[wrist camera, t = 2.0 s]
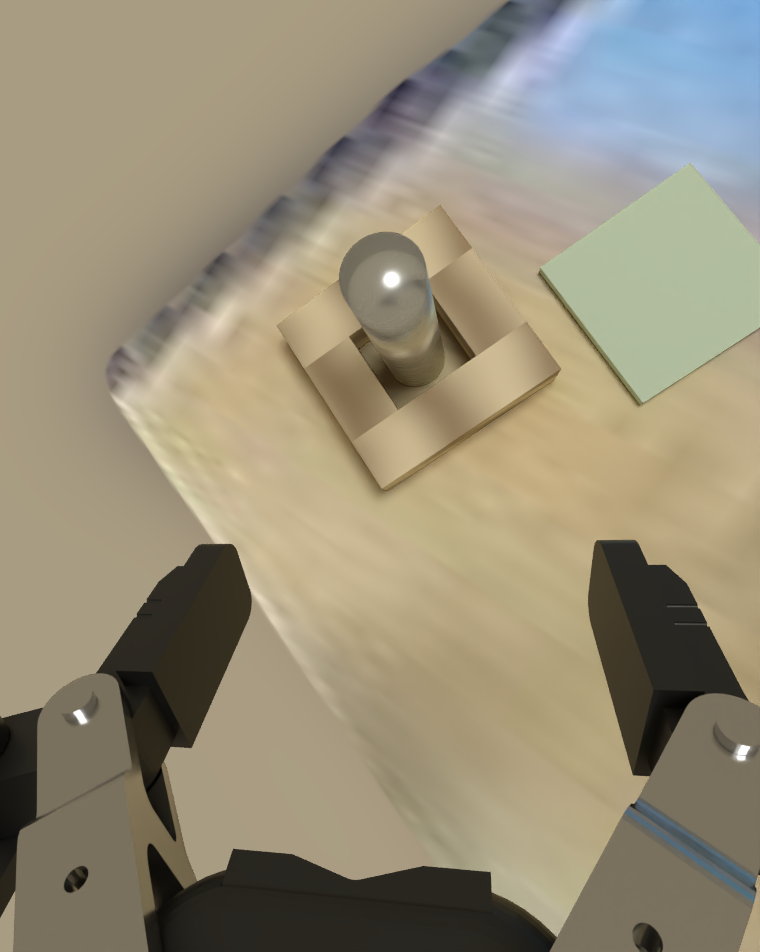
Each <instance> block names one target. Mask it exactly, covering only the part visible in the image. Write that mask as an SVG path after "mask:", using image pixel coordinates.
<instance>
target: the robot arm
mask: <svg viewBox="0 0 760 952" xmlns="http://www.w3.org/2000/svg"><path fill="white" fill-rule="evenodd" d="M251 603H252V599H251V592H250V589H249V586H248V583H247V580H246V577H245V574H244V571H243V568H242V565H241V562H240V559H239V555H238V552H237V550H236V548H235V547H234V545H232V544H201V545H199V546H197V547H196V548H195V550H194V551H193V553H192V554H191V556H190V558H189V559H188V561H187V562H186V563H185V565H184V566H177V567H176V568H175V569H174V570H172V571H171V572H170V573H169V574H168V575H167V576H165V577H164V578H163V579H162V580H160V581H159V582H158V584H157V585H156V587H155V588H154V590H153V591H152V592H151V594H150V595H149V597H148V598H147V603H144V604H143V606H142V607H141V608H140V610H139V611H138V613H137V617H136V618H134V619H133V620H132V622H131V623H130V625H129V626H128V628H127V629H126V631H125V632H124V633H123V635H122V636H121V638H120V639H119V641H118V642H117V644H116V645H115V646H114V648H113V650H112V651H111V652H110V654H109V655H108V657H107V658H106V660H105V661H104V662H103V664H102V665H101V667H100V668H99V670H98V671H97V673H96V674H90V675H87V676H83V677H81V678H78V679H76V680H74V681H72V682H70V683H69V684H68V685H66V686H64V687H63V688H62V689H60V690H59V691H58V692H57V693H56V694H54V695H53V696H52V697H51V699H50V700H49V701H48V702H47V703H46V705H45V706H44V708H40V709H36V710H32V711H29V712H24V713H20V714H17V715H12V716H9V717H5V718H1V717H0V917H1V915H2V914H3V912H4V910H5V908H6V906H7V904H8V902H9V901H10V899H11V897H12V895H13V893H14V892H15V918H14V919H15V920H14V947H13V952H738V951H739V948H740V945H741V942H742V939H743V936H744V932H745V929H746V926H747V923H748V920H749V917H750V914H751V911H752V907H753V904H754V900H755V896H756V887H755V883H756V879H757V876H758V875H760V707H758V706H757V705H755V704H753V703H751V702H749V701H748V699H747V697H746V696H745V694H744V692H743V690H742V689H741V687H740V685H739V683H738V681H737V679H736V677H735V675H734V673H733V671H732V669H731V668H730V666H729V664H728V662H727V660H726V658H725V656H724V654H723V652H722V650H721V648H720V646H719V645H718V643H717V641H716V639H715V637H714V635H713V633H712V631H711V629H710V627H707V622H706V620H705V618H704V616H703V614H702V612H701V610H700V609H698V607H697V602H696V601H695V599H694V597H693V595H692V593H691V591H690V589H689V587H688V585H687V583H686V582H685V581H683V580H682V579H681V578H680V577H679V576H678V575H677V574H675V573H674V572H673V571H672V570H671V569H670V568H669V567H667V566H666V565H648V564H647V562H646V559H645V557H644V555H643V553H642V551H641V548H640V546H639V544H638V543H637V541H636V540H597V541H596V542H595V545H594V552H593V560H592V568H591V577H590V585H589V593H588V607H589V616H590V622H591V626H592V630H593V633H594V637H595V640H596V644H597V648H598V651H599V655H600V658H601V662H602V666H603V669H604V673H605V676H606V680H607V684H608V687H609V691H610V694H611V698H612V701H613V705H614V709H615V712H616V716H617V719H618V723H619V727H620V730H621V734H622V737H623V741H624V745H625V748H626V752H627V755H628V759H629V763H630V766H631V770H632V773H633V775H637V776H650V777H649V779H648V781H647V783H646V785H645V787H644V789H643V790H642V792H641V794H640V796H639V798H638V800H637V801H636V802H635V804H631V805H630V806H629V807H628V808H627V810H626V811H625V813H624V814H623V816H622V818H621V820H620V821H619V823H618V825H617V827H616V829H615V831H614V833H613V834H612V836H611V838H610V840H609V842H608V844H607V846H606V847H605V849H604V851H603V853H602V855H601V857H600V859H599V860H598V862H597V864H596V866H595V868H594V870H593V872H592V874H591V875H590V877H589V879H588V881H587V883H586V885H585V887H584V888H583V890H582V892H581V894H580V896H579V898H578V900H577V901H576V903H575V905H574V907H573V909H572V911H571V913H570V915H569V916H568V918H567V920H566V922H565V924H564V926H563V928H562V929H561V931H560V933H559V935H558V937H556V936H555V935H554V934H553V933H552V932H551V931H550V930H549V929H548V928H547V927H546V926H545V925H543V924H542V923H541V922H540V921H539V920H538V919H536V918H535V917H534V916H532V915H531V914H530V913H528V912H527V911H526V910H524V909H523V908H521V907H520V906H518V905H516V904H514V903H513V902H511V901H509V900H508V899H505V898H503V897H501V896H498V895H496V894H494V893H492V891H491V872H483V871H471V870H460V869H449V868H438V867H427V866H422V867H417V868H413V869H408V870H403V871H398V872H394V873H389V874H384V875H380V876H375V877H371V878H366V879H361V880H351V879H347V878H345V877H343V876H341V875H338V874H336V873H334V872H332V871H329V870H327V869H325V868H322V867H320V866H318V865H316V864H313V863H311V862H309V861H307V860H304V859H302V858H300V857H297V856H295V855H292V854H284V853H272V852H261V851H250V850H238V849H233V851H232V854H231V857H230V860H229V863H228V866H227V869H226V870H225V871H221V872H218V873H216V874H213V875H210V876H207V877H205V878H203V879H201V880H199V881H197V880H196V877H195V874H194V872H193V869H192V867H191V865H190V863H189V860H188V857H187V854H186V850H185V847H184V842H183V838H182V833H181V829H180V824H179V820H178V816H177V811H176V807H175V802H174V797H173V793H172V789H171V784H170V780H169V776H168V771H167V767H166V765H165V763H164V759H165V757H166V755H167V753H168V751H169V749H170V747H184V748H192V746H193V744H194V741H195V739H196V737H197V734H198V732H199V730H200V728H201V725H202V723H203V721H204V718H205V716H206V714H207V712H208V710H209V707H210V705H211V703H212V700H213V698H214V696H215V694H216V692H217V689H218V687H219V685H220V682H221V680H222V678H223V676H224V673H225V671H226V669H227V667H228V664H229V662H230V660H231V658H232V655H233V653H234V651H235V648H236V646H237V644H238V642H239V639H240V637H241V635H242V632H243V630H244V628H245V626H246V624H247V621H248V619H249V616H250V612H251Z"/></svg>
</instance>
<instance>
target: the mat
mask: <svg viewBox="0 0 760 952" xmlns="http://www.w3.org/2000/svg"><path fill="white" fill-rule="evenodd" d="M539 272H540V274H541V275H542V276H543V278H544V279H545V280H546V282H547V283H548V284H549V286H550V287H551V288H552V290H553V291H554V292H555V294H556V295H557V296H558V297H559V299H560V300H561V301H562V303H563V304H564V305H565V307H566V308H567V309H568V311H569V312H570V313H571V315H572V316H573V317H574V319H575V320H576V321H577V323H578V324H579V325H580V327H581V328H582V329H583V331H584V332H585V333H586V335H587V336H588V337H589V338H590V340H591V341H592V342H593V344H594V345H595V346H596V348H597V349H598V350H599V352H600V353H601V354H602V356H603V357H604V358H605V360H606V361H607V362H608V364H609V365H610V366H611V368H612V369H613V370H614V372H615V373H616V374H617V376H618V377H619V378H620V379H621V381H622V382H623V383H624V385H625V386H626V387H627V389H628V390H629V391H630V393H631V394H632V395H633V397H634V398H635V399H636V401H637V402H638V403H639V405H641V404H642V403H644V402H646V401H647V400H649V399H650V398H652V397H653V396H655V395H656V394H658V393H659V392H661V391H663V390H664V389H666V388H667V387H669V386H670V385H672V384H673V383H675V382H676V381H678V380H680V379H681V378H683V377H684V376H686V375H687V374H689V373H690V372H692V371H693V370H695V369H697V368H698V367H700V366H701V365H703V364H704V363H706V362H707V361H709V360H710V359H712V358H714V357H715V356H717V355H718V354H720V353H721V352H723V351H724V350H726V349H727V348H729V347H731V346H732V345H734V344H735V343H737V342H738V341H740V340H741V339H743V338H744V337H746V336H748V335H749V334H751V333H752V332H754V331H755V330H757V329H758V328H760V245H759V243H758V242H757V241H756V240H755V239H754V237H753V236H752V235H751V234H750V233H749V232H748V230H747V229H746V228H745V227H744V226H743V224H742V223H741V222H740V221H739V220H738V219H737V217H736V216H735V215H734V214H733V213H732V211H731V210H730V209H729V208H728V207H727V206H726V204H725V203H724V202H723V201H722V200H721V198H720V197H719V196H718V195H717V194H716V193H715V191H714V190H713V189H712V188H711V187H710V185H709V184H708V183H707V182H706V181H705V180H704V178H703V177H702V176H701V175H700V174H699V172H698V171H697V170H696V169H695V168H694V167H693V165H692V164H691V163H689V164H688V165H686V166H685V167H683V168H682V169H680V170H679V171H678V172H676V173H675V174H673V175H672V176H670V177H669V178H668V179H666V180H665V181H663V182H662V183H660V184H659V185H658V186H656V187H655V188H653V189H652V190H650V191H649V192H648V193H646V194H645V195H643V196H642V197H640V198H639V199H638V200H636V201H635V202H633V203H632V204H630V205H629V206H628V207H626V208H625V209H623V210H622V211H620V212H619V213H618V214H616V215H615V216H613V217H612V218H610V219H609V220H608V221H606V222H605V223H603V224H602V225H600V226H599V227H598V228H596V229H595V230H593V231H592V232H590V233H589V234H588V235H586V236H585V237H583V238H582V239H580V240H579V241H578V242H576V243H575V244H573V245H572V246H570V247H569V248H568V249H566V250H565V251H563V252H562V253H560V254H559V255H558V256H556V257H555V258H553V259H552V260H550V261H549V262H548V263H546V264H545V265H543V266H542V267H540V271H539Z"/></svg>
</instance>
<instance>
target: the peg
mask: <svg viewBox="0 0 760 952" xmlns="http://www.w3.org/2000/svg"><path fill="white" fill-rule="evenodd" d="M339 285H340V290H341V293H342V295H343V298H344V299H345V301H346V303H347V304H348V306H349V307H350V309H351V310H352V312H353V314H354V315H355V317H356V318H357V320H358V321H359V323H360V325H361V326H362V328H363V329H364V331H365V332H366V334H367V336H368V337H369V339H370V340H371V342H372V343H373V345H374V346H375V348H376V350H377V351H378V353H379V354H380V356H381V357H382V359H383V361H384V362H385V364H386V365H387V367H388V368H389V370H390V372H391V373H392V375H393V376H394V377H395V378H396V379H397V380H398V381H399V382H401V383H403V384H405V385H408V386H422V385H426V384H428V383H430V382H431V381H433V380H434V379H435V378H436V377H437V376H438V375H439V374H440V372H441V370H442V368H443V366H444V362H445V352H444V347H443V342H442V338H441V333H440V328H439V324H438V319H437V314H436V310H435V305H434V300H433V296H432V291H431V286H430V281H429V277H428V272H427V267H426V263H425V259H424V256H423V254H422V252H421V251H420V249H419V247H418V246H417V245H416V244H415V243H414V242H413V241H412V240H410V239H409V238H407V237H406V236H403V235H401V234H398V233H394V232H379V233H374V234H371V235H368V236H366V237H364V238H363V239H361V240H359V241H358V242H357V243H356V244H354V245H353V246H352V248H351V249H350V250H349V251H348V253H347V254H346V256H345V257H344V259H343V262H342V264H341V268H340V273H339Z"/></svg>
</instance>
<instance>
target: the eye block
mask: <svg viewBox="0 0 760 952" xmlns="http://www.w3.org/2000/svg"><path fill="white" fill-rule="evenodd" d="M401 235H403V236H406V237H407V238H409V239H410V240H412V241H413V242H414V243H415V244H416V245H417V246H418V247H419V249H420V251H421V252H422V254H423V256H424V259H425V263H426V267H427V272H428V277H429V281H430V286H431V291H432V296H433V300H434V305H435V309H436V311H437V312H438V313H439V315H440V316H441V318H442V319H443V321H444V322H445V323H446V325H447V326H448V328H449V329H450V330H451V332H452V333H453V335H454V336H455V337H456V339H457V340H458V342H459V343H460V345H461V346H462V347H463V349H464V350H465V352H466V353H467V354H468V356H469V357H470V359H471V360H470V361H469V362H467V363H466V364H464V365H463V366H461V367H460V368H458V369H457V370H455V371H454V372H453V373H451V374H450V375H448V376H447V377H445V378H444V379H442V380H441V381H440V382H438V383H437V384H435V385H434V386H432V387H431V388H429V389H428V390H426V391H425V392H424V393H422V394H421V395H419V396H418V397H416V398H415V399H413V400H412V401H410V402H409V403H408V404H406V405H405V406H403V407H402V408H400V409H398V408H397V406H396V405H395V403H394V402H393V400H392V399H391V397H390V396H389V394H388V393H387V391H386V390H385V388H384V387H383V385H382V384H381V382H380V381H379V379H378V378H377V376H376V375H375V373H374V372H373V370H372V369H371V367H370V366H369V364H368V363H367V361H366V360H365V359H364V357H363V356H362V354H361V353H360V351H359V350H358V349H359V348H360V347H362V346H363V345H365V344H366V343H367V342H369V341H370V339H369V337H368V336H367V334H366V332H365V331H364V329H363V328H362V326H361V325H360V323H359V321H358V320H357V318H356V317H355V315H354V314H353V312H352V310H351V309H350V307H349V306H348V304H347V303H346V301H345V299H344V298H343V295H342V293H341V290H340V285H339V280H338V281H336V282H335V283H334V284H332V285H331V286H330V287H328V288H327V289H326V290H324V291H323V292H321V293H320V294H319V295H317V296H316V297H315V298H313V299H312V300H311V301H309V302H308V303H307V304H305V305H304V306H302V307H301V308H300V309H298V310H297V311H296V312H294V313H293V314H292V315H290V316H289V317H288V318H286V319H285V320H283V321H282V322H281V323H279V324H278V325H277V327H278V329H279V330H280V332H281V334H282V335H283V337H284V338H285V340H286V341H287V343H288V344H289V346H290V348H291V349H292V351H293V352H294V354H295V355H296V357H297V358H298V360H299V361H300V363H301V365H302V366H303V368H304V369H305V371H306V372H307V374H308V375H309V377H310V379H311V380H312V382H313V383H314V385H315V386H316V388H317V389H318V391H319V393H320V394H321V396H322V397H323V399H324V400H325V402H326V403H327V405H328V406H329V408H330V410H331V411H332V413H333V414H334V416H335V417H336V419H337V420H338V422H339V424H340V425H341V427H342V428H343V430H344V431H345V433H346V434H347V436H348V437H349V439H350V441H351V442H352V444H353V445H354V447H355V448H356V450H357V451H358V453H359V455H360V456H361V458H362V459H363V461H364V462H365V464H366V465H367V467H368V468H369V470H370V472H371V473H372V475H373V476H374V478H375V479H376V481H377V482H378V484H379V486H380V487H381V489H385V490H390V489H392V488H393V487H395V486H396V485H398V484H399V483H401V482H402V481H404V480H405V479H407V478H408V477H410V476H411V475H413V474H414V473H416V472H417V471H419V470H420V469H422V468H423V467H425V466H426V465H428V464H429V463H431V462H432V461H434V460H435V459H437V458H438V457H440V456H441V455H443V454H444V453H446V452H447V451H449V450H450V449H452V448H453V447H455V446H456V445H458V444H459V443H460V442H462V441H463V440H465V439H466V438H468V437H469V436H471V435H472V434H474V433H475V432H477V431H478V430H480V429H481V428H483V427H484V426H486V425H487V424H489V423H490V422H492V421H493V420H495V419H496V418H498V417H499V416H501V415H502V414H504V413H505V412H507V411H508V410H510V409H511V408H513V407H514V406H516V405H517V404H519V403H520V402H522V401H523V400H525V399H526V398H528V397H529V396H531V395H532V394H534V393H535V392H537V391H538V390H540V389H541V388H543V387H544V386H546V385H547V384H549V383H550V382H552V381H553V380H555V378H556V376H557V375H558V373H559V371H560V370H561V368H560V367H559V365H558V364H557V363H556V361H555V360H554V358H553V357H552V356H551V354H550V353H549V352H548V350H547V349H546V348H545V346H544V345H543V344H542V342H541V341H540V339H539V338H538V337H537V335H536V334H535V333H534V331H533V330H532V329H531V327H530V326H529V325H528V323H527V322H526V320H525V319H524V318H523V316H522V315H521V314H520V312H519V311H518V310H517V308H516V307H515V306H514V304H513V303H512V301H511V300H510V299H509V297H508V296H507V295H506V293H505V292H504V291H503V289H502V288H501V287H500V285H499V284H498V282H497V281H496V280H495V278H494V277H493V276H492V274H491V273H490V272H489V270H488V269H487V268H486V266H485V265H484V264H483V262H482V261H481V259H480V258H479V257H478V255H477V254H476V253H475V251H474V250H473V249H472V247H471V246H470V245H469V243H468V242H467V240H466V239H465V238H464V236H463V235H462V234H461V232H460V231H459V230H458V228H457V227H456V226H455V224H454V223H453V221H452V220H451V219H450V217H449V216H448V215H447V213H446V212H445V211H444V209H443V208H442V207H441V205H440V206H438V207H437V208H436V209H434V210H433V211H431V212H430V213H429V214H427V215H426V216H425V217H423V218H422V219H421V220H419V221H418V222H417V223H415V224H414V225H412V226H411V227H410V228H408V229H407V230H406V231H404V232H403V233H402V234H401Z"/></svg>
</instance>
